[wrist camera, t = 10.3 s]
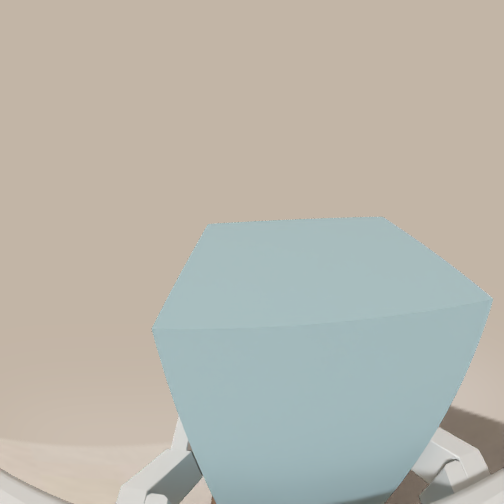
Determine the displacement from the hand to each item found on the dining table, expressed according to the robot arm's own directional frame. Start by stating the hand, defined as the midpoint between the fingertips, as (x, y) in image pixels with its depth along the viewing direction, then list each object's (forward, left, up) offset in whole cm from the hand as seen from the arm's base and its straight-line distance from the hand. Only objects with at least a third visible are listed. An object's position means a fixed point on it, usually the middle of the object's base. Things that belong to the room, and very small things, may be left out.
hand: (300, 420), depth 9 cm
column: (0, +1, -7) cm, 8 cm away
